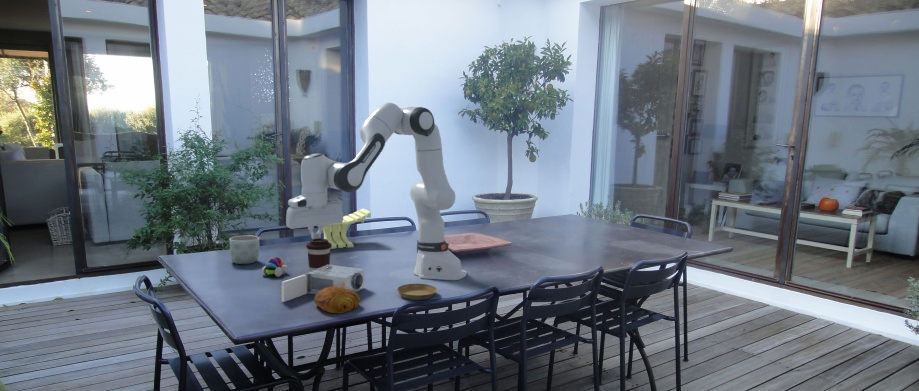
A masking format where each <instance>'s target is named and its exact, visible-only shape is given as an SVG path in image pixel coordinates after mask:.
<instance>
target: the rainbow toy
mask: <svg viewBox="0 0 919 391" xmlns="http://www.w3.org/2000/svg"><path fill="white" fill-rule="evenodd" d="M288 272H289V268H288V265H286V264H285V262H284V261H283V260H282V259H281V258H280V257H277V256H276V257H273V258H270V259H269V260H268V263H266V265H264V266H263V267H262V268H261V275H263V276H265V277H267V276H268V275H275V277H276V278H279V277H281V276H282V275H283V276H284V275H286V274H287V273H288Z"/></svg>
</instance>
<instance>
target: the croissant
mask: <svg viewBox="0 0 919 391" xmlns="http://www.w3.org/2000/svg"><path fill="white" fill-rule="evenodd" d="M313 300H314V303H315V304H316V305H317V307H318V308H320V309H321V310H323V311H325V312H327V313H331V314H344V313H347V312H350V311H352V310H355V309H357V308H358V306H359V303H360V301H361V298H360V296H359V294H358V293H357V292H356V293H355V292H354V291H352V290H350V289H346V288H341V287H337V286H332V287H328V288H327V287H326V288H324V289H323V290H320V291H319V292H317V294H315V296H314V299H313Z"/></svg>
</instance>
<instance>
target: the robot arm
mask: <svg viewBox="0 0 919 391" xmlns="http://www.w3.org/2000/svg"><path fill="white" fill-rule="evenodd" d="M393 134H397V135H404V136H413V139H414V148H415V149H414V151H415V161H416V163H415V164H416V170H417V171H418V172H419V175H420V176H421V179H422V181H421V180H420V181H418V182H415V183H414V184H413V185H412V187H410V191H409V195H410V198H411V200H412V201H413V204H414V208H415V212H416V217H417V224H418V225H417V226H418V232H417V234H418V235H417V240H416V254H417V255H416V261H415V267H414V271H413V274H414V275H416V276H417V277H419V278H420V279H427V280H429V279H430V280H441V281H442V280H445V281H459V280H462V279H463V278H466V276H467V271H466V270H464V269H463V267H462V262H461V260H460V258H458V257H457V256H456V255H455V254H454V253H452V252H451V251H450V250H449V246H450V242H446V241H445V224H446V223H445V221H444V219H443V217H442V215H441V211H446V210H450V209H451V208H452V207H453V206H454V204H455V203H456V199H457V197H456V193H455V190H454V189H453V188H452V187H451V185H450V183H449V180H448V177H447V174H446V171H445V167H444V157H443V144H442V138H441V134H440V130H439V127H438V125H437V124H436V123H435V117H434V114H433V113H432V112H431V110H429V109H428V108H426V107H423V106H419V107H418V106H408V107H403V108H400V107H399V105H397V104H395V103H394V102H385V103H383V104H382V105H380V106H379V107H378V108H377V109H375V110H374V111H372V113H371V114H370V115H369V116H368V117H367V118H366V119H365V121H364V122H363V123H362V124H361V126H360V128H359V136H360V139H361V141H362V142H363V143H364V145H363V147H362V149H361V150H360V151H359V153H358V154H356V156H355V157H354V159H353V160H351V161H348V162H339V161H335V160H333V159H330V158H329V157H327V156H325V155H324V153H311V154H308V155H305V156H304V157H303V158H302V160H301V163H300V164H301V165H300V181H301V186H302V188H301V194H300V195H298V196H296V197H293V198H290V199H288V201H287V204H288V208H287V209H286V215H285V216H286V217H285V224H286V227H287V228H289V229H291V230H293V229H301V228H302V229H303V228H307V230H308V231H309V233H310V236H311V238H310V239H311V240H312V239H322V238H321V237H322V236H321V235H322V233H323V228H324V225H329V224H337V223H342V221H343V216H344V213H343V201H342V199H340V198H338V197H334V198H332V197H331V198H328V189H329V188H331V189H334V190H335V189H336V190H340V191H344V192H345V193H354V192H356V191H358V190H359V189H360V188H361V187H362V185H363V183H364V181H365V179H366V176H367V173H368V172H369V170H370V169H371V167H372V166H373V164H374V163H375V161H376V160H377V159H378V158H379V157H380V155H381V153H382V152H383V150H384V148H385V146H386V143H387V141H388V140H390V137H391V136H393ZM315 227H317V228H318V229H317V231H316V232H314V228H315Z"/></svg>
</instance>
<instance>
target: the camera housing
mask: <svg viewBox="0 0 919 391" xmlns="http://www.w3.org/2000/svg"><path fill="white" fill-rule="evenodd" d="M307 273H308V286H309V293H308V294H312V295H316V294H317V292H319V291H320V290H323V289H324V288H326V287H327V288H328V287H332V286H337V287H341V288H346V289H350V290H352V291H354V292H355V293H357V292H359V291H361V290H363V289H364V288H365V269H364V268H360V267H351V266H342V265H334V264H329V265H325V266H323V267H320V268H318V269H316V270H313V271H311V272H310V271H308V272H307Z"/></svg>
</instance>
